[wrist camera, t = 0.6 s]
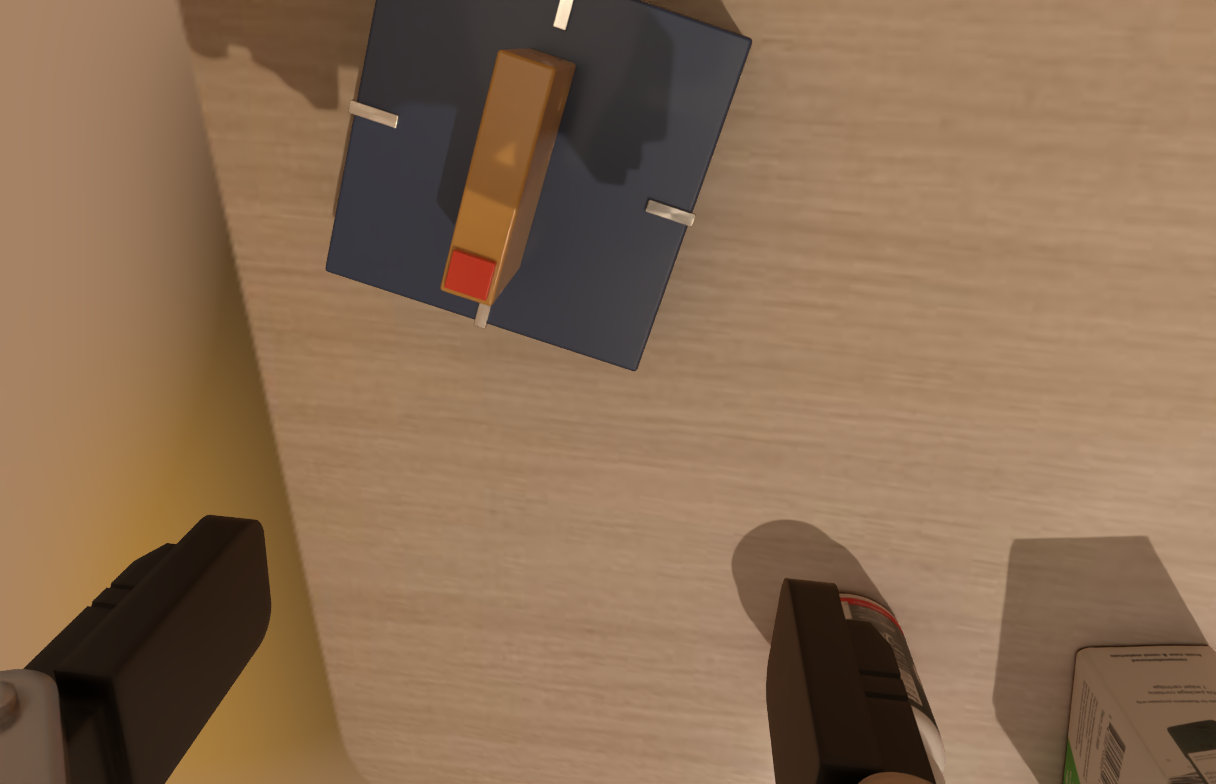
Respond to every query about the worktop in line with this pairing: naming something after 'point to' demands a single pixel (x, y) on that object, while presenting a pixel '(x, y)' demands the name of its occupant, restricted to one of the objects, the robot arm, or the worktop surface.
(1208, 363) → the worktop surface
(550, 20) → the plate
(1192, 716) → the ink box
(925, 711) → the pill bottle
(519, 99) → the orange wooden bar
